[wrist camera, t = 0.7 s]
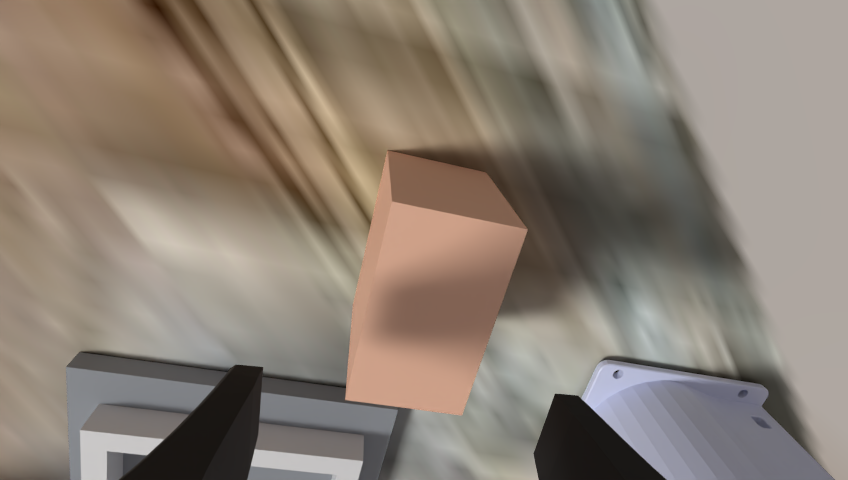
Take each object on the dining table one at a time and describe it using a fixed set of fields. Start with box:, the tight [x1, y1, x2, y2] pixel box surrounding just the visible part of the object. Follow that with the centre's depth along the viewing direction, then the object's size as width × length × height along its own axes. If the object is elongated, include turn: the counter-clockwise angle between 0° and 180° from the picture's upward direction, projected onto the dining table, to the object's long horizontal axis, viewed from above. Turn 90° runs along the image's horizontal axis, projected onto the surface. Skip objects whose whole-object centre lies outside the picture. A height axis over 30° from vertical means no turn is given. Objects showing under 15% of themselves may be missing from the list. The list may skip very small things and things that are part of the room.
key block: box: [345, 150, 528, 415], centre depth 18 cm, size 4×7×6 cm, turn 166°
